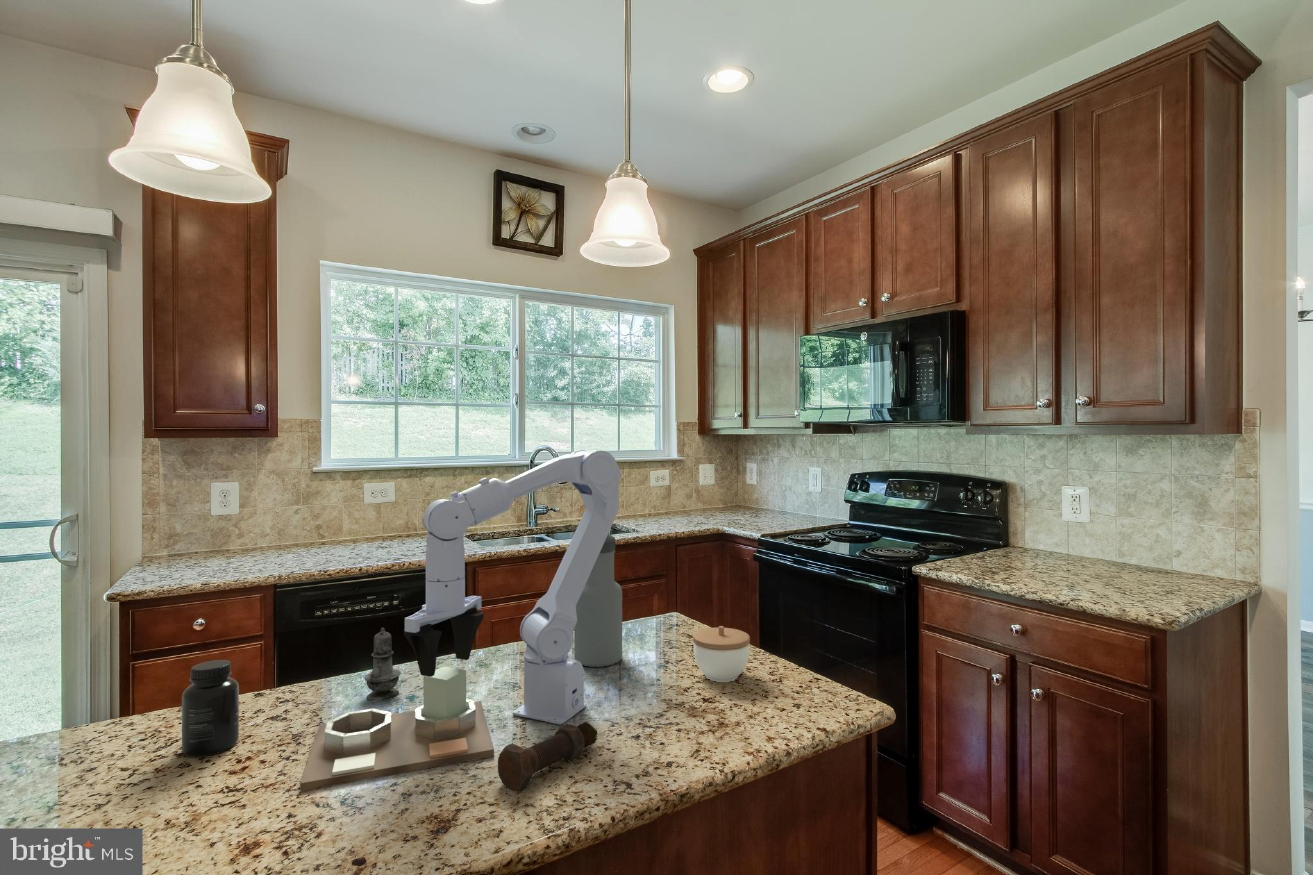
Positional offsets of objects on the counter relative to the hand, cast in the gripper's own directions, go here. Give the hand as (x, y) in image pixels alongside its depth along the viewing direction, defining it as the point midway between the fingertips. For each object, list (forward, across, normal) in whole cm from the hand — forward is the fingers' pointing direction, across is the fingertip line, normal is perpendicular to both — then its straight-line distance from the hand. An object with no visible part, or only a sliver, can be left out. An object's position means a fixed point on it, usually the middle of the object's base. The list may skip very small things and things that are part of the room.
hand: (445, 666), depth 96 cm
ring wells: (+9, +4, -4) cm, 11 cm away
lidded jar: (+10, -39, +32) cm, 51 cm away
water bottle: (+10, -38, +6) cm, 39 cm away
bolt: (+10, +2, +21) cm, 23 cm away
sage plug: (+9, 0, 0) cm, 9 cm away
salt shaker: (+10, -7, -20) cm, 24 cm away
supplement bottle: (+10, +17, -28) cm, 35 cm away
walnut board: (+10, +5, -3) cm, 12 cm away
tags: (+9, +10, +1) cm, 13 cm away
